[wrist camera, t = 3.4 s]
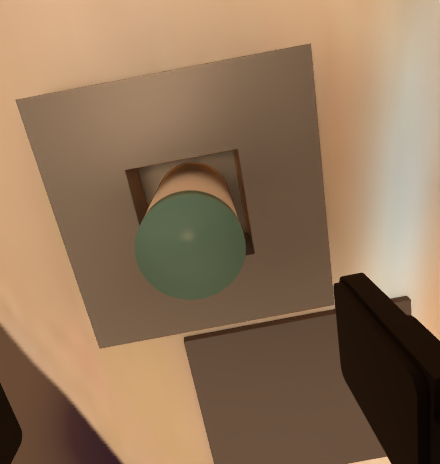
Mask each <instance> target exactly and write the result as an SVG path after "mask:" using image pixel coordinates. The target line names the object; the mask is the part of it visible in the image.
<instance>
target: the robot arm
mask: <svg viewBox="0 0 440 464" xmlns="http://www.w3.org/2000/svg"><path fill="white" fill-rule="evenodd" d="M334 298H335V309H336V320H337V331H338V342H339V353H340V364H341V370H342V374H343V377H344V379H345V381H346V383H347V385H348V387H349V389H350V390H351V392H352V394H353V396H354V398H355V399H356V401H357V403H358V405H359V407H360V408H361V410H362V412H363V414H364V416H365V417H366V419H367V421H368V423H369V424H370V426H371V428H372V430H373V432H374V433H375V435H376V437H377V439H378V441H379V442H380V444H381V446H382V448H383V450H384V451H385V453H386V455H387V457H388V459H389V460H390V462H391V464H440V341H439V340H438V339H437V338H436V337H435V336H434V335H433V334H432V333H431V332H430V331H429V330H428V329H426V328H425V327H424V326H423V325H422V324H421V323H420V322H419V321H418V320H417V319H416V318H414V317H413V316H412V315H406V314H405V313H404V312H403V311H402V310H401V309H400V308H399V307H398V306H397V305H396V304H395V303H394V302H393V301H392V300H391V299H390V298H389V297H388V296H387V295H386V294H384V293H383V292H382V291H381V290H380V289H379V288H378V287H377V286H376V285H375V284H374V283H373V282H372V281H371V280H370V279H369V278H368V277H367V276H366V275H365V274H364V273H357V274H352V275H347V276H342V277H340V281H339V283H335V284H334ZM21 441H22V431H21V428H20V425H19V423H18V421H17V419H16V417H15V415H14V412H13V410H12V408H11V406H10V404H9V401H8V399H7V397H6V395H5V392H4V390H3V388H2V386H1V384H0V464H11V462H12V460H13V458H14V456H15V454H16V452H17V450H18V448H19V446H20V444H21Z"/></svg>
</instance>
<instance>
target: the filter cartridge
mask: <svg viewBox="0 0 440 464" xmlns="http://www.w3.org/2000/svg"><path fill="white" fill-rule="evenodd" d="M245 254H246V244H245V238H244V233H243V231H242V228H241V225H240V222H239V219H238V216H237V213H236V210H235V207H234V204H233V202H232V199H231V196H230V193H229V190H228V187H227V184H226V182H225V180H224V179H223V177H222V176H221V175H220V174H219V173H218V172H217V171H216V170H215V169H213V168H212V167H210V166H208V165H205V164H202V163H196V162H190V163H184V164H181V165H178V166H176V167H175V168H173V169H172V170H170V171H169V172H168V173H167V174H166V175H165V177H164V178H163V180H162V181H161V183H160V185H159V187H158V189H157V192H156V194H155V196H154V198H153V200H152V202H151V204H150V206H149V208H148V210H147V212H146V214H145V216H144V218H143V220H142V222H141V224H140V226H139V229H138V231H137V234H136V239H135V257H136V262H137V264H138V267H139V269H140V271H141V273H142V275H143V276H144V277H145V279H146V280H147V281H148V282H149V283H150V284H151V285H152V286H153V287H154V288H156V289H157V290H159V291H160V292H162V293H164V294H166V295H168V296H171V297H174V298H178V299H184V300H197V299H203V298H207V297H210V296H213V295H215V294H217V293H219V292H221V291H222V290H224V289H225V288H227V287H228V286H229V285H230V284H231V283H232V282H233V281H234V280H235V278H236V277H237V275H238V274H239V272H240V270H241V268H242V266H243V263H244V260H245Z"/></svg>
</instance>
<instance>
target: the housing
mask: <svg viewBox="0 0 440 464" xmlns="http://www.w3.org/2000/svg"><path fill="white" fill-rule="evenodd" d="M16 103H17V106H18V109H19V112H20V115H21V118H22V121H23V124H24V127H25V130H26V133H27V136H28V139H29V142H30V145H31V148H32V150H33V153H34V156H35V159H36V162H37V165H38V168H39V171H40V174H41V177H42V180H43V183H44V186H45V189H46V192H47V195H48V198H49V201H50V204H51V207H52V210H53V212H54V215H55V218H56V221H57V224H58V227H59V230H60V233H61V236H62V239H63V242H64V245H65V248H66V251H67V254H68V257H69V260H70V263H71V266H72V269H73V272H74V274H75V277H76V280H77V283H78V286H79V289H80V292H81V295H82V298H83V301H84V304H85V307H86V310H87V313H88V316H89V319H90V322H91V325H92V328H93V331H94V333H95V336H96V339H97V342H98V345H99V348H105V347H111V346H116V345H121V344H127V343H132V342H137V341H143V340H148V339H154V338H159V337H164V336H170V335H175V334H180V333H186V332H191V331H197V330H202V329H207V328H213V327H218V326H223V325H229V324H234V323H240V322H245V321H250V320H256V319H261V318H266V317H272V316H277V315H283V314H288V313H293V312H299V311H304V310H309V309H315V308H320V307H326V306H331V305H334V296H333V285H332V274H331V263H330V252H329V241H328V229H327V218H326V207H325V196H324V185H323V174H322V163H321V152H320V140H319V129H318V118H317V107H316V96H315V85H314V74H313V62H312V51H311V44H306V45H301V46H296V47H290V48H285V49H280V50H275V51H269V52H264V53H259V54H254V55H248V56H243V57H238V58H233V59H227V60H222V61H217V62H212V63H206V64H201V65H196V66H191V67H185V68H180V69H175V70H170V71H164V72H159V73H154V74H149V75H143V76H138V77H133V78H128V79H123V80H117V81H112V82H107V83H102V84H96V85H91V86H86V87H81V88H75V89H70V90H65V91H60V92H54V93H49V94H44V95H39V96H33V97H28V98H23V99H18V100H16ZM229 150H233V151H234V157H235V163H236V169H237V175H238V181H239V187H240V193H241V199H242V205H243V211H244V218H245V224H246V230H247V233H246V234H244V238H245V244H246V254H245V260H244V263H243V266H242V268H241V270H240V272H239V274H238V275H237V277H236V278H235V280H234V281H233V282H232V283H231V284H230V285H229V286H228V287H227V288H225V289H224V290H222V291H221V292H219V293H217V294H215V295H213V296H210V297H207V298H203V299H197V300H184V299H178V298H174V297H171V296H168V295H166V294H164V293H162V292H160V291H159V290H157V289H156V288H154V287H153V286H152V285H151V284H150V283H149V282H148V281H147V280H146V279H145V277H144V276H143V275H142V273H141V271H140V269H139V267H138V264H137V262H136V257H135V239H136V234H137V231H138V229H139V226H140V224H141V222H142V220H143V218H144V216H145V214H146V212H147V210H148V207H147V203H146V199H145V195H144V191H143V187H142V183H141V179H140V175H139V171H138V168H139V167H144V166H150V165H155V164H160V163H165V162H171V161H176V160H181V159H187V158H192V157H197V156H202V155H208V154H213V153H218V152H224V151H229Z"/></svg>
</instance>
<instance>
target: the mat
mask: <svg viewBox="0 0 440 464" xmlns="http://www.w3.org/2000/svg"><path fill="white" fill-rule="evenodd" d="M391 300H392V301H393V302H394V303H395V304H396V305H397V306H398V307H399V308H400V309H401V310H402V311H403V312H404V313H405V314H406V315H411V299H410V298H408V297H407V296H405V297H399V298H394V299H391ZM184 344H185V348H186V352H187V356H188V360H189V364H190V369H191V373H192V377H193V381H194V385H195V389H196V393H197V397H198V401H199V405H200V409H201V413H202V417H203V421H204V425H205V429H206V433H207V437H208V441H209V445H210V449H211V453H212V457H213V461H214V464H348V463H354V462H359V461H365V460H370V459H376V458H381V457H386V456H387V455H386V453H385V451H384V450H383V448H382V446H381V444H380V442H379V441H378V439H377V437H376V435H375V433H374V432H373V430H372V428H371V426H370V424H369V423H368V421H367V419H366V417H365V416H364V414H363V412H362V410H361V408H360V407H359V405H358V403H357V401H356V399H355V398H354V396H353V394H352V392H351V390H350V389H349V387H348V385H347V383H346V381H345V379H344V377H343V374H342V370H341V364H340V353H339V342H338V331H337V320H336V309H335V310H329V311H324V312H318V313H313V314H308V315H302V316H297V317H292V318H286V319H281V320H275V321H270V322H265V323H259V324H254V325H249V326H243V327H238V328H232V329H227V330H222V331H216V332H211V333H206V334H200V335H195V336H189V337H184Z"/></svg>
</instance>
